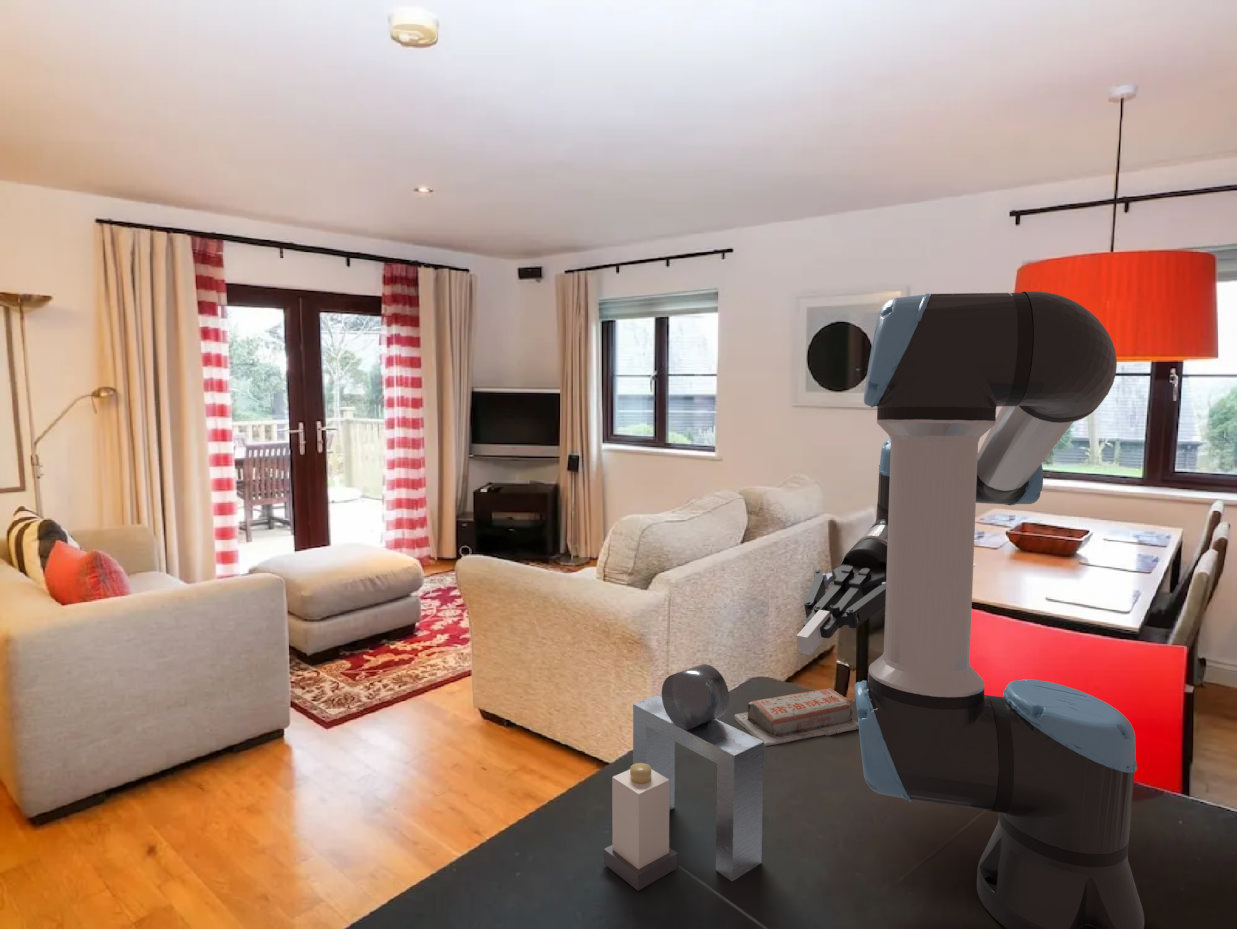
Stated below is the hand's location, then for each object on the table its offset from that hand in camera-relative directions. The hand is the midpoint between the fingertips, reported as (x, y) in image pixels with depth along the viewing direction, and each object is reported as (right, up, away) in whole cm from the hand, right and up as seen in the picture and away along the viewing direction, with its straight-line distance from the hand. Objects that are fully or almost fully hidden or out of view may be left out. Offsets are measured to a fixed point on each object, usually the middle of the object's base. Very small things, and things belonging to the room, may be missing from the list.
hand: (803, 645), depth 95 cm
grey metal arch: (-15, -23, -5) cm, 27 cm away
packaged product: (+5, -20, +26) cm, 33 cm away
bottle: (-21, -23, -10) cm, 33 cm away
